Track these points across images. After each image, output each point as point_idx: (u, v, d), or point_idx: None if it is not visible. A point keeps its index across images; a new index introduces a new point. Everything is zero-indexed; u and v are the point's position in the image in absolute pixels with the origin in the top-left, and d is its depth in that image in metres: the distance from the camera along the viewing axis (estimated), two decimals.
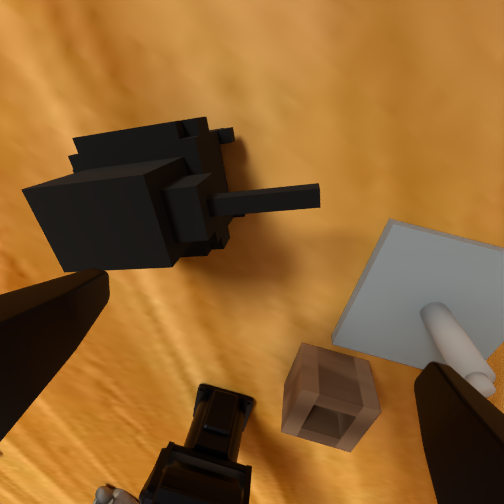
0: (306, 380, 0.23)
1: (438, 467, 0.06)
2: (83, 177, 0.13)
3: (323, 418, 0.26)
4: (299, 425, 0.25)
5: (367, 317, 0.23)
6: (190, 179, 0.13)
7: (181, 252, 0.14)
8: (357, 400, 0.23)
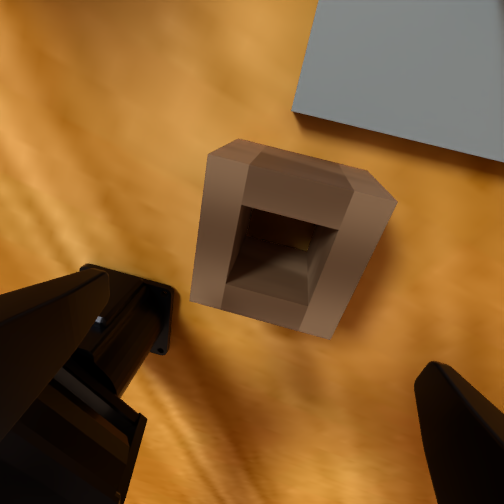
0: (225, 152, 0.10)
1: (438, 467, 0.06)
2: None
3: (277, 278, 0.13)
4: (221, 276, 0.12)
5: (363, 3, 0.10)
6: None
7: None
8: (340, 184, 0.10)
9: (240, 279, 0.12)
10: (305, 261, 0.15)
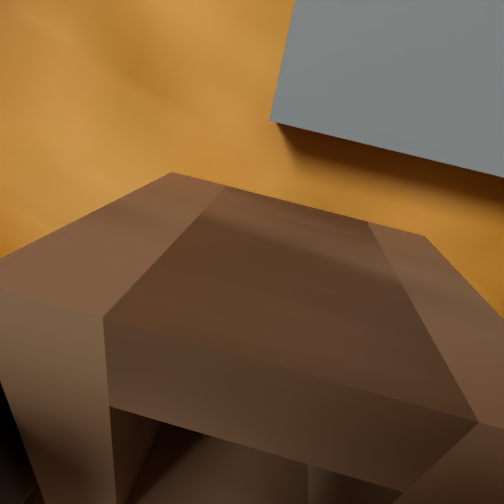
0: (69, 246, 0.04)
1: None
2: None
3: (245, 463, 0.06)
4: None
5: None
6: None
7: None
8: (416, 372, 0.03)
9: (160, 490, 0.06)
10: None
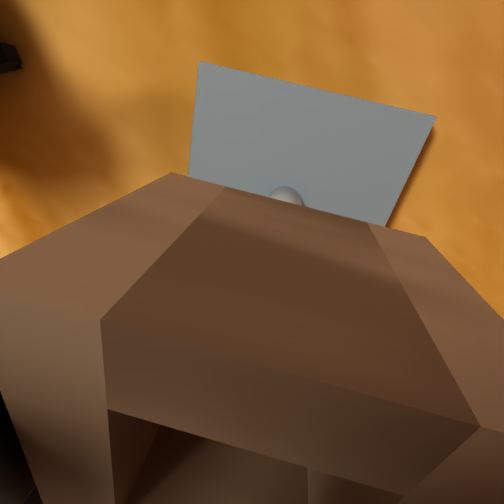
0: (66, 247, 0.03)
1: None
2: None
3: (244, 465, 0.06)
4: None
5: None
6: None
7: None
8: (417, 375, 0.03)
9: (159, 492, 0.06)
10: None
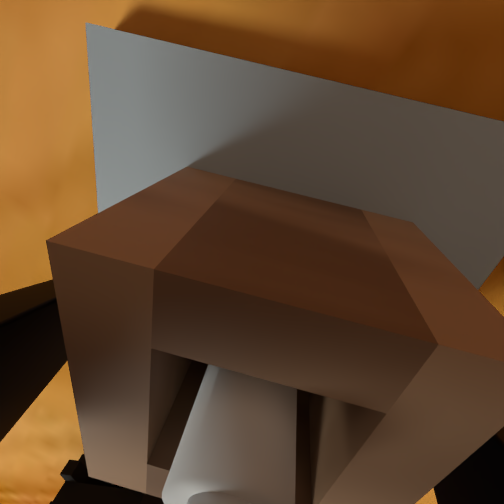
0: (116, 221, 0.04)
1: None
2: None
3: None
4: (136, 453, 0.06)
5: None
6: None
7: None
8: (393, 313, 0.04)
9: None
10: None
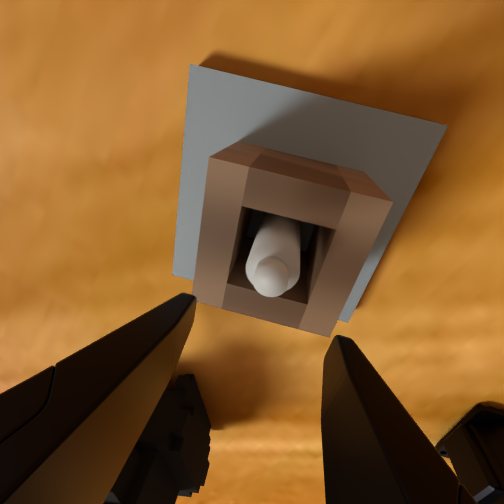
0: (225, 155, 0.10)
1: (327, 435, 0.06)
2: None
3: None
4: (222, 276, 0.12)
5: None
6: None
7: (135, 499, 0.18)
8: (337, 185, 0.10)
9: (241, 278, 0.13)
10: (304, 261, 0.15)
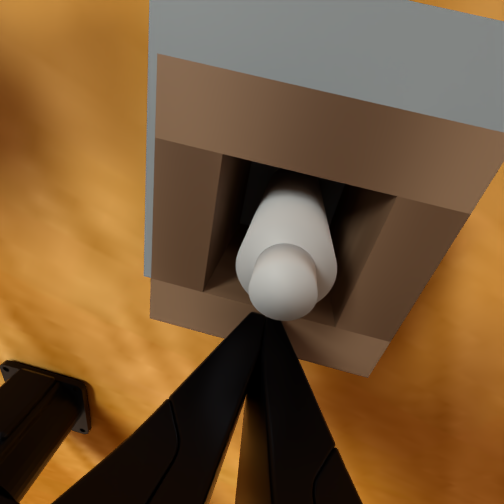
0: None
1: (246, 412, 0.06)
2: None
3: (224, 222, 0.08)
4: (238, 145, 0.06)
5: None
6: None
7: None
8: None
9: (225, 173, 0.06)
10: (233, 232, 0.11)
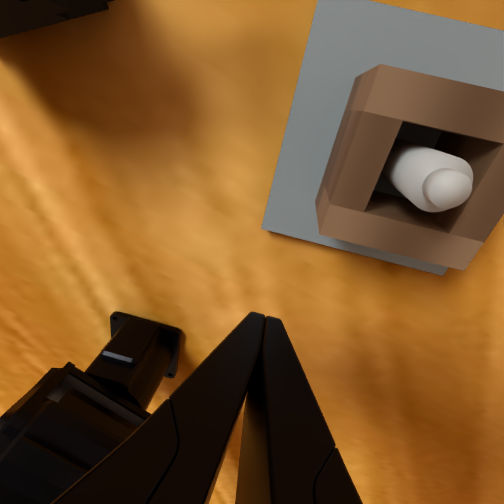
0: None
1: (246, 412, 0.06)
2: None
3: None
4: (414, 115, 0.10)
5: (302, 176, 0.16)
6: None
7: None
8: None
9: None
10: None
